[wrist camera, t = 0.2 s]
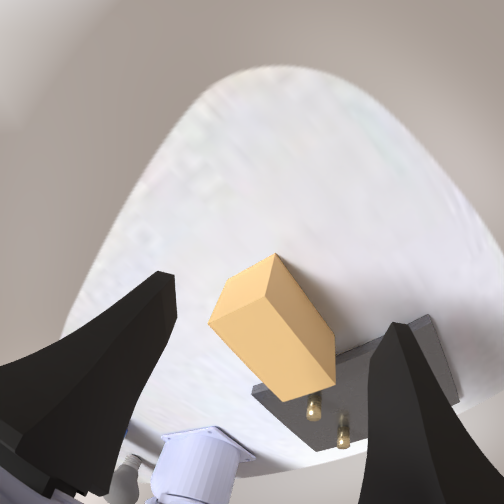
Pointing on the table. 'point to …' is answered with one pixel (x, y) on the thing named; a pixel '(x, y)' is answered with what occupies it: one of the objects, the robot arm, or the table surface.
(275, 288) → the ochre block
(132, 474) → the light bulb
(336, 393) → the chassis plate
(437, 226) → the table surface
